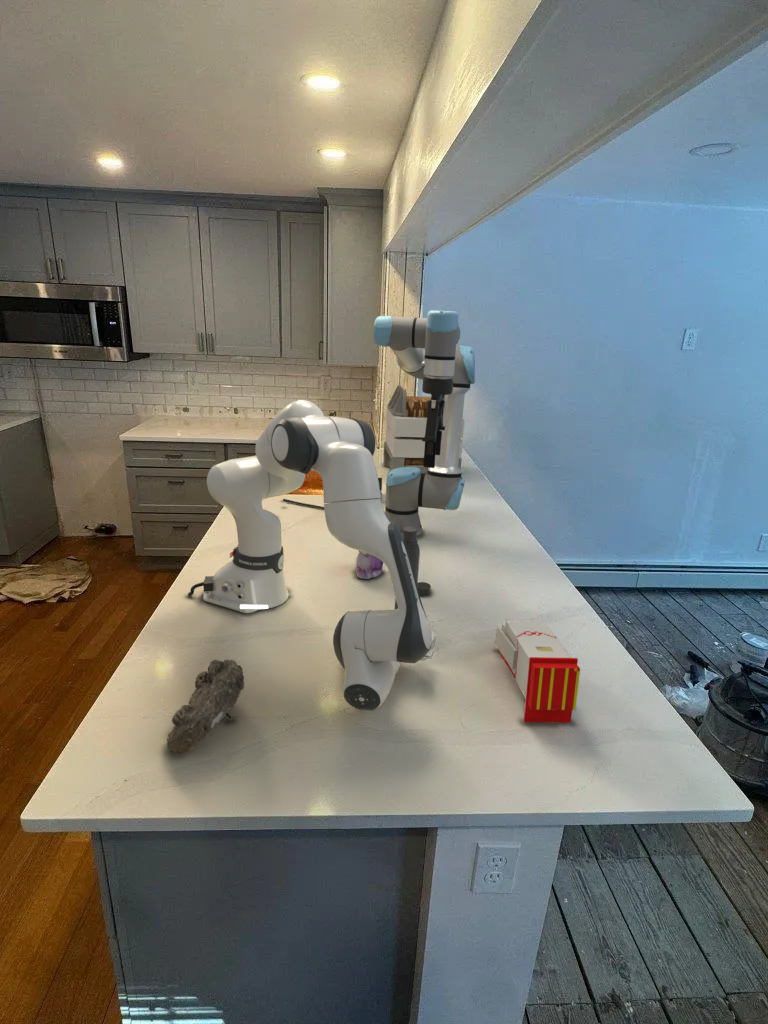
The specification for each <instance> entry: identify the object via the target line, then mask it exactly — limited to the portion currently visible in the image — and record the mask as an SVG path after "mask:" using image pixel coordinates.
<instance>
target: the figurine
mask: <svg viewBox="0 0 768 1024" xmlns="http://www.w3.org/2000/svg"><path fill="white" fill-rule="evenodd" d="M357 551H358V554H357V556H356V560H355V561H356V564H355V565H356V568H355V573H356V577H357V578H358V579H364V580H369V579H371V578H376V577H378V576H380V575H381V574H382V572H383V567H384V563H383V562H382V561H381V560H380V559H379V558H377V557H375V556H373V555H371V554H368V553H366V552H362V551H359V550H357Z"/></svg>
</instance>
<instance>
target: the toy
mask: <svg viewBox="0 0 768 1024" xmlns="http://www.w3.org/2000/svg"><path fill="white" fill-rule="evenodd" d="M494 645H495V647H496V648H497V651H498V653H499V654H500V656H501V658H502V660H503V661H504V663H505V665H506V666H507V668H508V670H509V671H510V673H511V675H512V676H513V678H514V679H515V682H516V684H517V686H518V688H519V690H520V692H521V693H522V695H523V697H524V699H525V701H524V703H525V705H524V712H523V713H524V714H523V722H524V723H550V724H551V723H552V724H553V723H554V724H556V723H557V724H558V723H559V724H561V723H562V724H571V723H572V717H573V716H572V715H573V711H576V708H577V699H578V692H579V682H580V674H581V667H580V666H579V664H578V663H579V662H578V661H579V659H578V658H577V657H572V656H571V655H570V653H569V652H568V651H567V649H566V648H565V647H564V645H563V644H562V643H561V641H560V639H558V637H556V635H555V634H554V632H553V631H552V630H551V628H550V626H549V625H547V623H546V622H545V621H544V620H517V619H516V620H513V619H512V620H511V619H510V620H509V619H506V620H505V622H501V627H500V626H499V625H497V626H496V628H495V637H494Z"/></svg>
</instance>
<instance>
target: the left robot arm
mask: <svg viewBox="0 0 768 1024" xmlns="http://www.w3.org/2000/svg"><path fill="white" fill-rule="evenodd" d="M254 447H255V448H254V449H255V450H254V451H255V455H251V456H245V457H239V458H232V459H231V458H230V459H228V460H225V461H222V462H220V463H217V464H214V465H213V466H211V467H210V469H209V471H208V472H207V473H208V474H207V476H206V487H207V491H208V493H209V495H210V497H211V498H212V499H213V500H214V501H215V502H216V503H218V504H219V505H221V506H223V508H226V510H228V511H229V513H230V514H231V515H232V517H233V519H234V522H235V527H236V532H237V546H236V547H234V548H233V549H232V551H231V552H230V553H229V558H230V559H231V558H233V559H231V560H230V561H229V562H227V563H225V564H223V566H221V567H220V568H219V569H218V570H217V571H216V572H215V573H214V575H208V576H207V575H206V576H205V577H204V580H203V581H202V582H198V583H195V584H194V585H192V586H191V588H190V591H189V592H188V593H187V595H188V596H189V597H191V596H193V595H194V593H195V590H196V589H197V588H200V587H203V594H202V600H203V601H205V602H208V603H210V604H214V605H217V606H221V607H224V608H227V609H230V610H233V611H237V612H240V613H243V614H251V613H255V612H258V611H260V610H268V609H272V608H276V607H278V606H281V605H282V604H284V603H286V601H287V600H288V599H289V597H290V594H289V591H288V587H287V583H286V579H285V574H284V566H285V556H284V555H285V552H284V546H283V545H282V544H283V543H282V542H283V541H282V540H283V539H282V522H281V520H280V518H279V517H278V515H277V514H275V513H274V512H272V511H269V510H267V509H265V508H264V509H263V500H265V499H269V498H274V497H281V496H284V495H288V494H289V493H292V492H295V491H296V490H299V489H300V488H301V487H302V486H303V484H304V482H305V480H306V479H305V478H306V475H308V474H309V472H310V471H314V472H316V473H317V474H318V475H319V477H320V478H321V481H322V493H323V494H322V496H323V507H324V509H323V510H324V519H325V522H326V523H325V524H326V527H327V530H328V532H329V533H330V535H331V536H332V537H333V538H334V539H335V540H336V541H338V542H339V543H340V544H342V545H344V546H346V547H348V548H351V549H353V550H356V551H358V550H359V551H362V552H366V553H368V554H371V555H373V556H375V557H377V558H379V559H380V560H381V561H382V562H383V565H385V567H386V568H387V571H388V574H389V579H390V581H391V585H392V590H393V593H394V598H395V597H396V601H397V605H398V609H395V608H394V609H379V610H376V609H375V610H372V609H369V610H368V609H367V610H365V609H364V610H363V609H362V610H351V611H349V610H348V611H346V612H345V613H344V614H343V615H342V616H341V617H340V618H339V621H338V622H337V624H336V626H335V628H334V631H333V636H332V644H333V650H334V654H335V656H336V658H337V661H338V662H339V664H340V666H341V667H342V669H343V670H344V682H343V686H342V694H343V698H344V700H345V701H346V703H347V704H348V705H349V706H350V707H352V708H353V709H355V710H356V709H357V710H359V711H374V710H376V709H378V708H380V707H381V706H382V705H383V704H384V702H385V701H386V700H387V698H388V695H389V694H390V692H391V690H392V687H393V686H394V685H393V684H394V682H395V679H396V674H397V673H398V671H399V669H400V666H401V663H402V664H403V663H404V664H417V663H418V662H419V661H420V662H421V661H426V660H431V659H432V658H433V656H434V649H435V646H436V639H437V634H436V633H435V632H434V630H432V629H431V626H430V622H429V619H428V617H427V614H426V610H425V608H424V605H423V603H422V599H421V595H419V591H418V587H417V583H416V580H415V576H414V572H413V568H412V564H411V561H410V557H409V554H408V550H407V547H406V544H405V541H404V538H403V535H402V533H401V531H400V529H399V528H398V527H397V526H396V525H393V524H391V523H390V522H389V520H388V519H387V517H386V515H385V510H384V508H383V505H382V495H380V487H379V481H378V478H379V476H378V471H377V467H376V464H375V461H374V454H375V451H376V437H375V433H374V431H373V429H372V427H371V426H370V425H369V423H367V422H366V421H363V420H362V419H358V418H355V417H341V416H331V415H324V413H323V411H322V409H321V408H320V407H319V406H318V405H317V404H315V403H313V402H312V401H310V400H306V399H298V400H295V401H292V402H291V403H289V404H288V405H286V406H285V407H283V408H282V409H281V410H280V411H279V412H278V413H277V414H276V415H275V416H274V417H273V418H272V420H271V421H270V422H269V424H268V425H267V426H266V427H265V429H264V430H263V432H262V433H261V435H260V436H259V437H258V439H257V440H256V442H255V446H254ZM380 498H381V499H380ZM359 551H358V552H359Z"/></svg>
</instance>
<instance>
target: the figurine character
mask: <svg viewBox="0 0 768 1024" xmlns="http://www.w3.org/2000/svg"><path fill="white" fill-rule="evenodd" d="M378 481H379V487H380V495H381V496H383V492H382V491H383V478H382V477H378ZM380 499H381V500H382V497H381V498H380Z"/></svg>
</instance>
